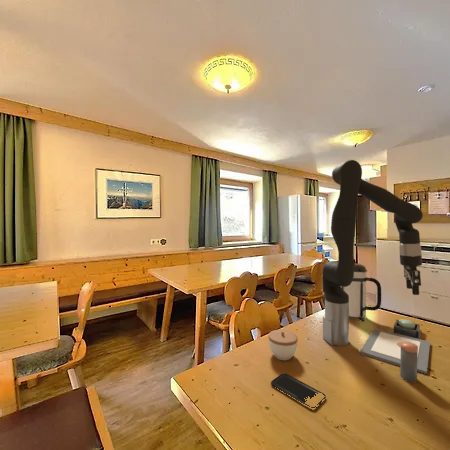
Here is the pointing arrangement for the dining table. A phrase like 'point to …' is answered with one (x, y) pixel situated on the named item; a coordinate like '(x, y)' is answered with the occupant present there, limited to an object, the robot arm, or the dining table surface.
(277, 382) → the phone
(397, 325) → the button housing
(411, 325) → the button
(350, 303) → the coffee press
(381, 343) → the drawing board
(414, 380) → the grey cylindrical piece
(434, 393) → the dining table surface
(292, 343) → the lidded jar
